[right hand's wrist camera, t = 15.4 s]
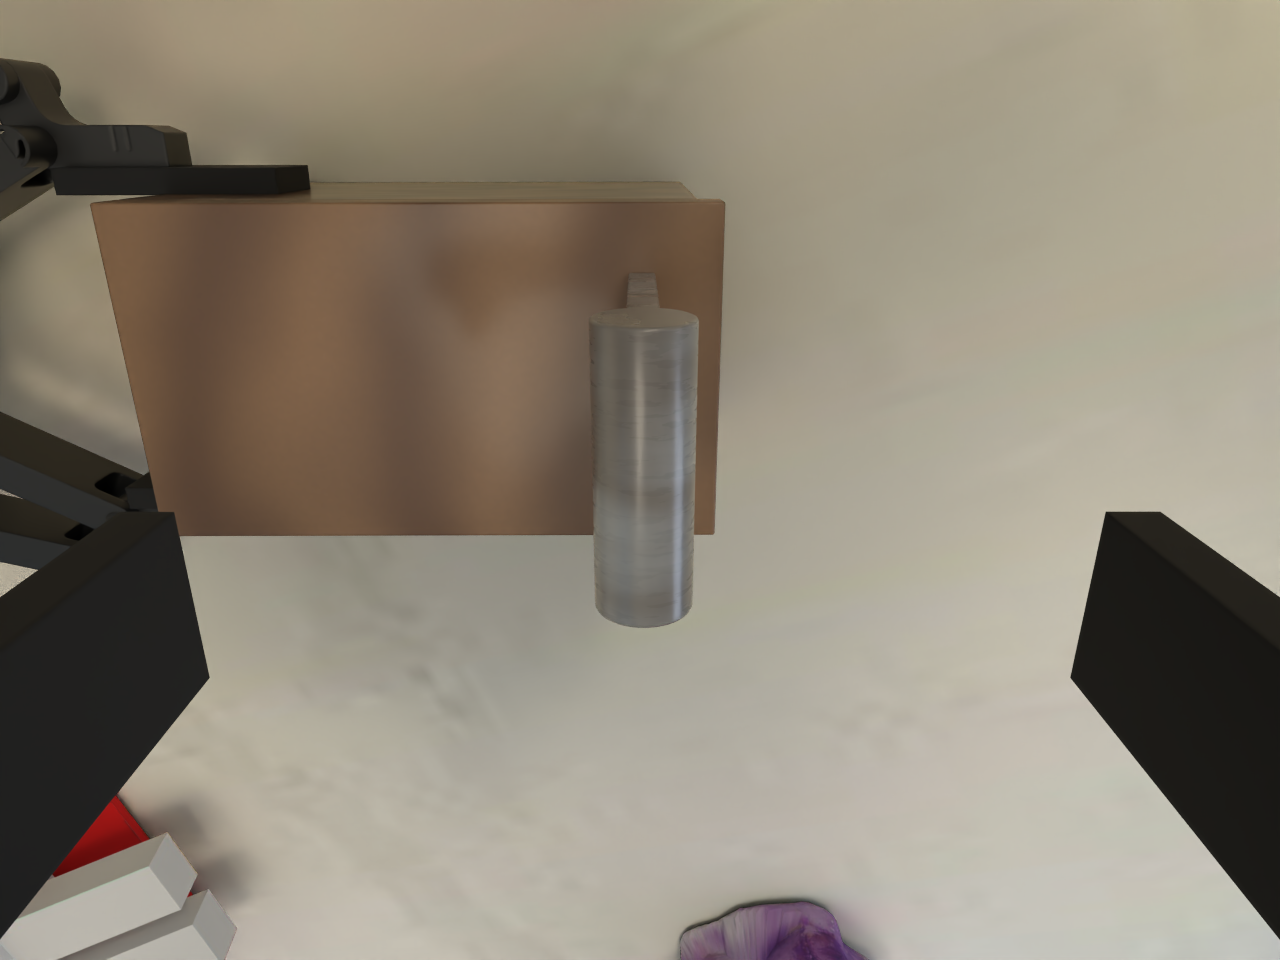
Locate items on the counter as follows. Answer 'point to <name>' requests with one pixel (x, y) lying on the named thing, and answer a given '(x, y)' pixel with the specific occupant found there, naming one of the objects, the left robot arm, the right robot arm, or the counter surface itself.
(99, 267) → the counter surface
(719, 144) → the counter surface
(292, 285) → the lid
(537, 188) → the chest
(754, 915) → the figurine
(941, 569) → the counter surface
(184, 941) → the toy
